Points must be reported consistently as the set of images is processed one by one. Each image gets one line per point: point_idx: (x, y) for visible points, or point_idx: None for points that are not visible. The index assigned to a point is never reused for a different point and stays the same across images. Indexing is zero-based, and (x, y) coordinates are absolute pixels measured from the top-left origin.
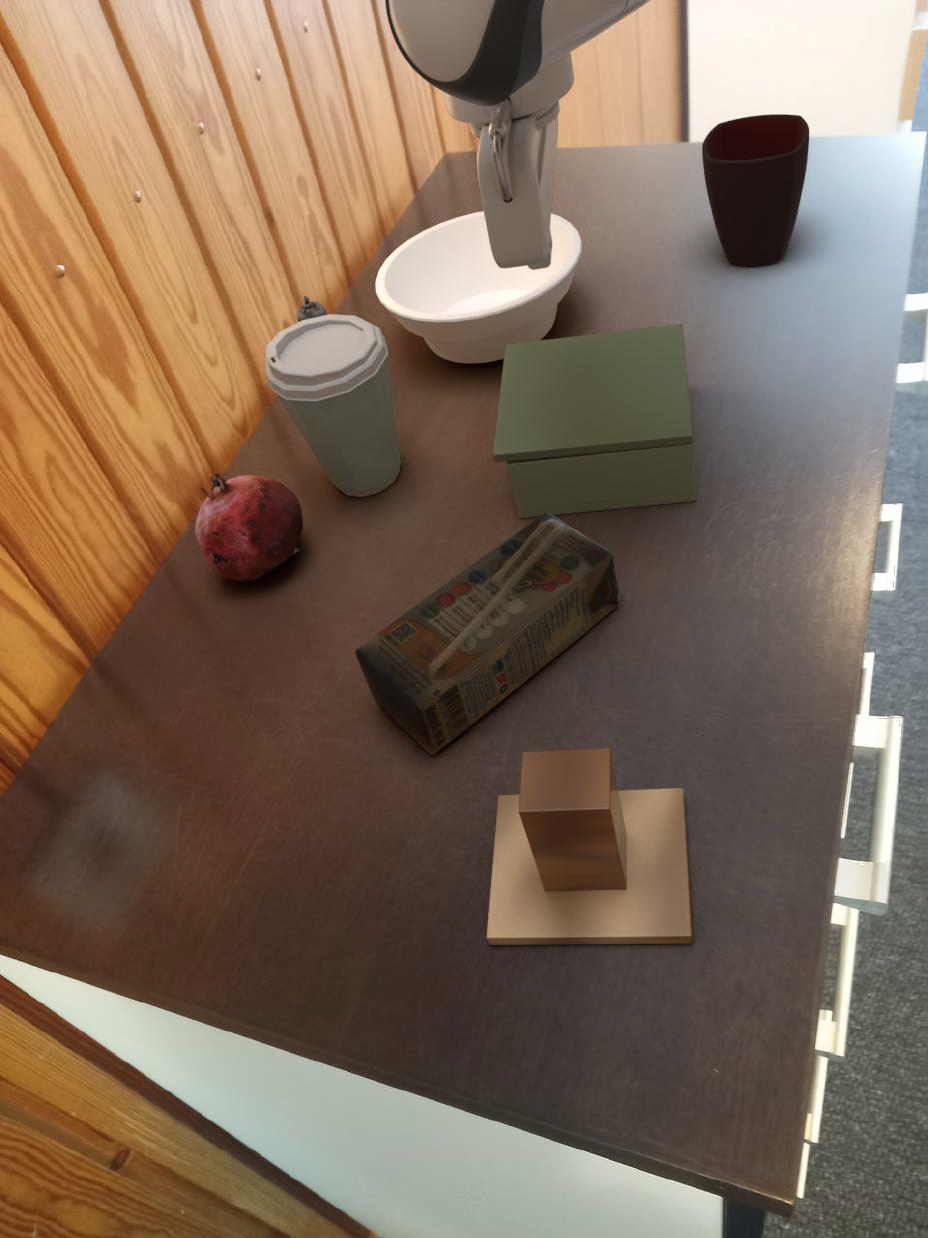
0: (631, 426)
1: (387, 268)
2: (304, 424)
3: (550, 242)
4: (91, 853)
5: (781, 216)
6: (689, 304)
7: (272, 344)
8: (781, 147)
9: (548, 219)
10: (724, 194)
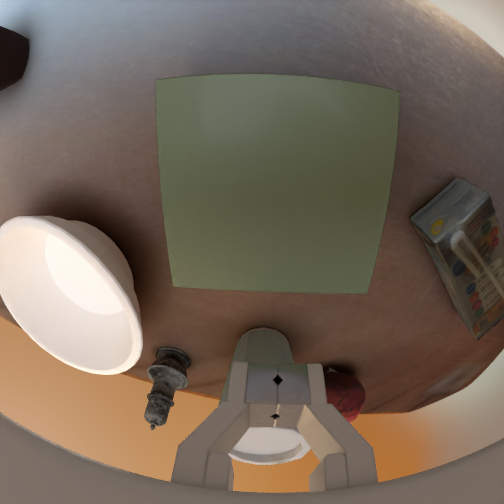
0: (370, 153)
1: (77, 365)
2: None
3: (265, 382)
4: (456, 381)
5: (3, 32)
6: (59, 99)
7: (259, 463)
8: None
9: (497, 475)
10: None
